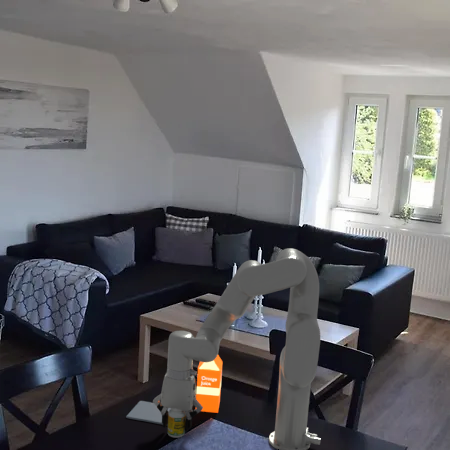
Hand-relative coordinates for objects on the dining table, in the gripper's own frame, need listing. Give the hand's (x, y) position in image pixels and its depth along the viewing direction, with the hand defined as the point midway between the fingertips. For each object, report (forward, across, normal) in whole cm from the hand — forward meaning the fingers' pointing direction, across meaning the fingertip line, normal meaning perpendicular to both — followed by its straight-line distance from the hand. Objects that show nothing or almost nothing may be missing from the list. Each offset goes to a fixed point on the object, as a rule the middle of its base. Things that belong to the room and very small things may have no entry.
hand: (176, 427), depth 194 cm
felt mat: (+2, +10, -10) cm, 14 cm away
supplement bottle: (+2, 0, 0) cm, 2 cm away
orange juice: (+2, -4, -22) cm, 22 cm away
